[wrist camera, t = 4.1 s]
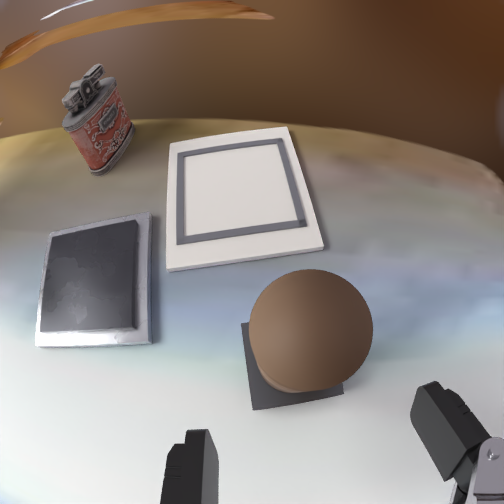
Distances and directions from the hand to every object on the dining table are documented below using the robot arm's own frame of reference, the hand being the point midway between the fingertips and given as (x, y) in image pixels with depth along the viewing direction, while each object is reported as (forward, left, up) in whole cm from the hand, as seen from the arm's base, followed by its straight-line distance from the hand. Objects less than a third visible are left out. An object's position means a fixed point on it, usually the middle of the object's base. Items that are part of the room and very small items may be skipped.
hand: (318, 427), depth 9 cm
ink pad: (-15, +12, -9) cm, 21 cm away
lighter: (-15, +28, -10) cm, 33 cm away
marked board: (-2, +19, -9) cm, 21 cm away
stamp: (0, +4, -9) cm, 10 cm away
